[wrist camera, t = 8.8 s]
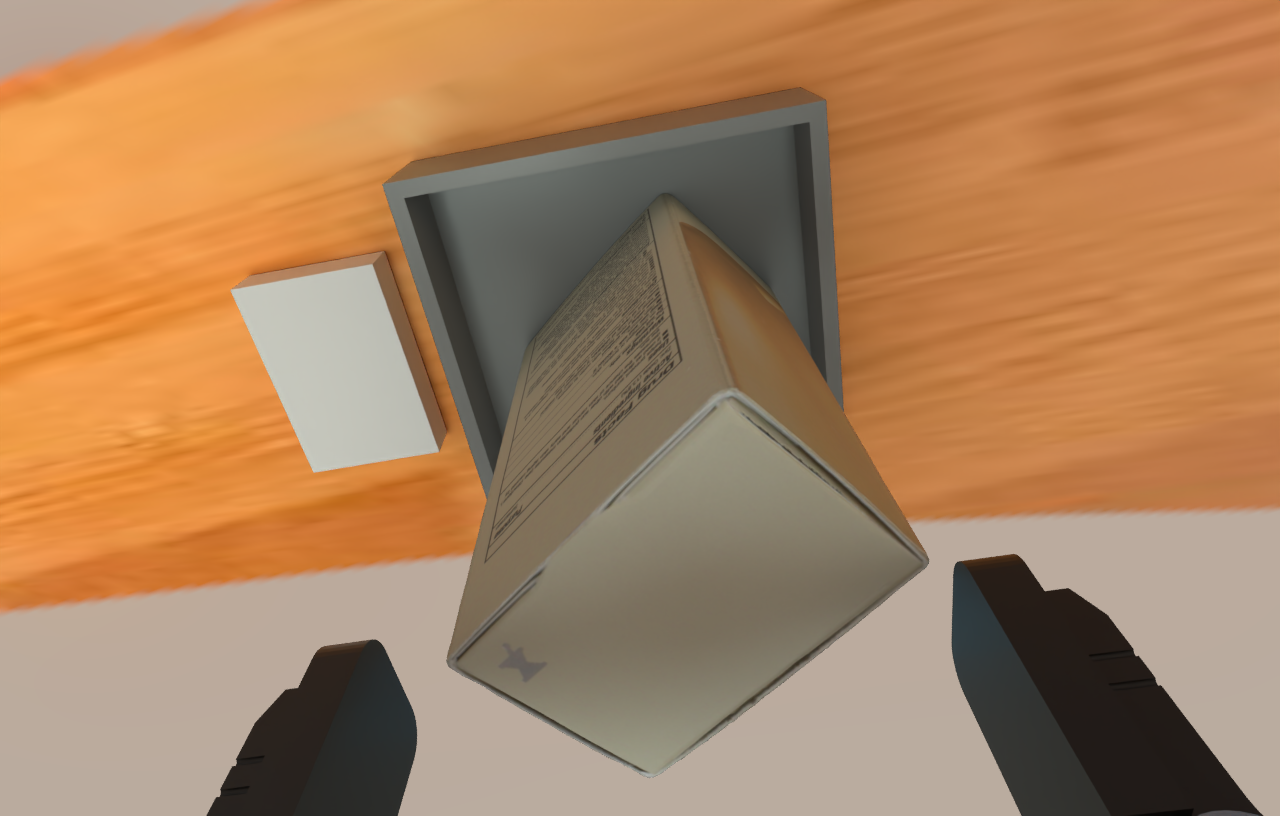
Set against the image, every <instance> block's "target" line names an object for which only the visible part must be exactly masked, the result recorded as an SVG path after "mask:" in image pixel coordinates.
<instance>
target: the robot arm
mask: <svg viewBox="0 0 1280 816" xmlns="http://www.w3.org/2000/svg"><path fill="white" fill-rule="evenodd" d="M952 614H953V615H952V653H953V659H954V664H955V668H956V672H957V676H958V679H959V682H960V685H961V688H962V690H963V692H964V695H965V697H966V699H967V701H968V703H969V705H970V707H971V709H972V711H973V714H974V716H975V718H976V720H977V722H978V724H979V726H980V728H981V731H982V733H983V735H984V737H985V739H986V741H987V743H988V745H989V748H990V749H991V752H992V754H993V756H994V758H995V760H996V762H997V764H998V766H999V769H1000V771H1001V773H1002V775H1003V777H1004V779H1005V782H1006V784H1007V786H1008V788H1009V790H1010V792H1011V794H1012V796H1013V798H1014V801H1015V803H1016V805H1017V807H1018V809H1019V811H1020V813H1021V815H1022V816H1263V815H1262V814H1261V813H1260V812H1259V811H1258V810H1257V809H1256V808H1255V807H1254V806H1253V804H1252V803H1251V802H1250V801H1249V800H1248V798H1246V796H1245V795H1244V793H1243V792H1242V791H1241V790H1240V788H1239V787H1238V785H1237V784H1236V783H1235V782H1234V780H1233V779H1232V778H1231V777H1230V775H1229V774H1228V773H1227V771H1226V770H1225V769H1224V767H1223V766H1222V764H1221V763H1220V762H1219V761H1218V759H1217V758H1216V757H1215V755H1214V754H1213V753H1212V751H1211V750H1210V749H1209V748H1208V746H1207V745H1206V744H1205V742H1204V741H1203V740H1202V738H1201V737H1200V736H1199V735H1198V733H1197V732H1196V730H1195V729H1194V728H1193V726H1192V725H1191V724H1190V723H1189V721H1188V720H1187V719H1186V717H1185V716H1184V715H1183V713H1182V712H1181V711H1180V710H1179V708H1178V707H1177V706H1176V704H1175V703H1174V702H1173V700H1172V699H1171V698H1170V696H1169V695H1168V694H1167V692H1166V691H1165V690H1164V688H1162V686H1161V685H1160V686H1158V685H1157V683H1156V680H1155V677H1154V675H1153V674H1152V673H1151V671H1150V670H1149V669H1148V668H1147V666H1146V665H1145V664H1144V662H1143V661H1142V660H1141V658H1140V657H1139V656H1135V654H1134V651H1133V648H1132V647H1131V645H1130V644H1129V643H1128V641H1127V640H1126V639H1125V637H1124V636H1123V635H1122V634H1121V632H1120V631H1119V630H1118V628H1117V627H1116V626H1115V624H1114V623H1113V622H1112V620H1111V619H1110V618H1109V616H1108V615H1107V614H1105V613H1104V612H1102V611H1101V610H1099V609H1098V608H1097V607H1095V606H1094V605H1092V604H1091V603H1089V602H1088V601H1086V600H1085V599H1084V598H1082V597H1081V596H1079V595H1078V594H1076V593H1075V592H1073V591H1072V590H1070V589H1069V588H1066V589H1059V590H1051V591H1044V590H1043V588H1042V587H1041V585H1040V584H1039V582H1038V581H1037V579H1036V578H1035V577H1034V575H1033V574H1032V572H1031V571H1030V570H1029V568H1028V566H1027V565H1026V563H1025V562H1024V561H1023V560H1022V559H1021V558H1020V557H1019V556H1018V555H1015V554H1011V555H1003V556H996V557H989V558H982V559H975V560H967V561H959V562H957V563H956V564H955V567H954V574H953V610H952ZM416 745H417V727H416V720H415V716H414V712H413V709H412V707H411V705H410V703H409V700H408V698H407V696H406V694H405V692H404V690H403V687H402V685H401V683H400V681H399V679H398V677H397V674H396V672H395V670H394V668H393V666H392V663H391V661H390V659H389V657H388V655H387V653H386V650H385V649H384V647H383V645H382V644H381V643H380V642H379V641H377V640H366V641H359V642H352V643H345V644H337V645H330V646H324V647H321V648H320V649H319V650H318V651H317V652H316V653H315V655H314V657H313V659H312V660H311V663H310V665H309V667H308V669H307V671H306V673H305V675H304V677H303V679H302V681H301V683H300V685H299V687H298V688H295V689H288V690H285V691H284V692H283V693H282V694H281V695H280V697H279V698H278V699H277V700H276V701H275V702H274V703H273V704H272V705H271V706H270V707H269V708H268V710H267V711H266V712H265V713H264V714H263V715H262V716H261V717H260V718H259V719H258V720H257V721H256V723H255V724H254V726H253V728H252V730H251V732H250V734H249V736H248V737H247V739H246V741H245V744H244V745H243V747H242V749H241V751H240V753H239V755H238V757H237V758H236V760H237V764H236V766H233V767H232V768H231V770H230V772H229V774H228V776H227V778H226V779H225V781H224V783H223V785H222V787H221V789H220V790H221V795H220V797H216V799H215V801H214V802H213V804H212V806H211V808H210V810H209V812H208V814H207V816H398V813H399V809H400V806H401V802H402V799H403V795H404V792H405V788H406V785H407V781H408V778H409V774H410V771H411V768H412V764H413V761H414V757H415V752H416Z"/></svg>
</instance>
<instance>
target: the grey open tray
mask: <svg viewBox="0 0 1280 816" xmlns="http://www.w3.org/2000/svg"><path fill="white" fill-rule="evenodd" d="M382 185H383V188H384V191H385V194H386V197H387V200H388V203H389V206H390V209H391V212H392V215H393V218H394V221H395V224H396V227H397V230H398V233H399V236H400V239H401V242H402V245H403V248H404V251H405V254H406V257H407V260H408V263H409V266H410V269H411V272H412V275H413V278H414V281H415V284H416V287H417V290H418V293H419V296H420V299H421V302H422V305H423V308H424V311H425V314H426V317H427V320H428V323H429V326H430V329H431V332H432V335H433V338H434V341H435V344H436V347H437V350H438V353H439V356H440V359H441V362H442V365H443V368H444V371H445V374H446V377H447V380H448V383H449V387H450V390H451V393H452V396H453V399H454V402H455V405H456V408H457V411H458V414H459V417H460V420H461V423H462V426H463V429H464V432H465V435H466V438H467V441H468V444H469V447H470V450H471V453H472V456H473V459H474V462H475V465H476V468H477V471H478V474H479V477H480V480H481V483H482V486H483V489H484V492H485V495H486V498H488V494H489V491H490V487H491V483H492V479H493V475H494V472H495V468H496V464H497V459H498V456H499V452H500V448H501V444H502V440H503V436H504V432H505V428H506V424H507V420H508V416H509V412H510V409H511V405H512V401H513V397H514V393H515V389H516V384H517V380H518V376H519V372H520V369H521V365H522V361H523V356H524V352H525V350H526V348H527V346H528V345H529V344H530V342H531V341H532V340H533V339H534V338H535V336H536V335H537V334H538V333H539V331H540V330H541V329H542V328H543V326H544V325H545V324H546V323H547V321H548V320H549V319H550V318H551V317H552V315H553V314H554V313H555V312H556V311H557V309H558V308H559V307H560V306H561V305H562V303H563V302H564V301H565V300H566V299H567V297H568V296H569V295H570V294H571V293H572V292H573V290H574V289H575V288H576V287H577V286H578V285H579V283H580V282H581V281H582V280H583V279H584V278H585V277H586V275H587V274H588V273H589V272H590V271H591V270H592V268H593V267H594V266H595V265H596V264H597V263H598V261H599V260H600V259H601V258H602V257H603V256H604V255H605V254H606V252H607V251H608V250H609V249H610V248H611V247H612V246H613V245H614V244H615V242H616V241H617V240H618V239H619V238H620V237H621V236H622V235H623V234H624V233H625V232H626V230H627V229H628V228H629V227H630V226H631V225H632V224H633V223H634V222H635V220H636V219H637V218H638V217H639V216H640V215H641V214H642V213H643V212H644V211H645V210H646V209H647V208H648V207H649V206H650V205H651V204H652V203H653V201H654V200H655V199H656V198H657V197H659V196H660V195H661V194H669V195H672V196H674V197H675V198H676V199H677V200H678V201H679V202H680V203H681V204H683V205H684V206H685V207H686V208H687V209H688V210H689V211H690V212H691V213H692V214H693V215H695V216H696V217H697V218H698V219H699V220H700V221H701V222H702V223H703V224H705V225H706V226H707V227H708V228H709V229H710V230H711V231H712V232H713V233H714V234H715V235H716V236H717V237H718V238H719V239H721V240H722V241H723V242H724V243H725V244H726V245H727V246H728V247H729V248H730V249H731V250H732V251H733V252H734V253H735V254H736V255H737V256H738V257H739V258H740V259H741V260H742V261H744V262H745V263H746V264H747V265H748V266H749V267H750V268H751V269H752V270H753V271H754V272H755V273H756V274H757V275H758V276H759V277H760V278H761V279H762V280H763V281H764V282H765V283H766V284H767V285H768V286H769V287H770V288H771V290H772V291H773V293H774V294H775V296H776V298H777V300H778V301H779V303H780V305H781V306H782V308H783V310H784V312H785V314H786V315H787V317H788V319H789V321H790V322H791V324H792V326H793V327H794V329H795V331H796V332H797V334H798V336H799V337H800V339H801V341H802V342H803V344H804V346H805V348H806V349H807V351H808V353H809V354H810V356H811V357H812V359H813V361H814V362H815V364H816V366H817V368H818V369H819V371H820V373H821V374H822V376H823V378H824V380H825V382H826V383H827V385H828V387H829V388H830V390H831V392H832V393H833V395H834V397H835V398H836V400H837V402H838V404H839V405H840V407H841V409H842V410H843V412H844V409H843V391H842V373H841V355H840V338H839V320H838V302H837V284H836V267H835V249H834V231H833V213H832V196H831V178H830V160H829V142H828V125H827V107H826V100H825V99H823V98H821V97H819V96H817V95H815V94H813V93H811V92H809V91H807V90H805V89H803V88H801V87H799V88H794V89H789V90H784V91H778V92H773V93H768V94H763V95H757V96H752V97H747V98H742V99H737V100H731V101H726V102H721V103H716V104H710V105H705V106H700V107H695V108H689V109H684V110H679V111H674V112H669V113H663V114H658V115H653V116H648V117H642V118H637V119H632V120H627V121H621V122H616V123H611V124H606V125H601V126H595V127H590V128H585V129H580V130H574V131H569V132H564V133H559V134H553V135H548V136H543V137H538V138H532V139H527V140H522V141H517V142H512V143H506V144H501V145H496V146H491V147H485V148H480V149H475V150H470V151H464V152H459V153H454V154H449V155H444V156H438V157H433V158H428V159H423V160H417V161H412V162H410V163H409V164H408V165H406V166H405V167H404V168H403V169H401V170H400V171H399V172H397V173H396V174H395V175H394V176H392V177H391V178H390V179H388V180H387V181H386V182H385V183H383V184H382ZM231 292H232V295H233V297H234V299H235V301H236V303H237V306H238V308H239V310H240V312H241V314H242V317H243V319H244V321H245V323H246V325H247V328H248V330H249V332H250V334H251V336H252V338H253V341H254V343H255V345H256V347H257V349H258V352H259V354H260V356H261V358H262V360H263V363H264V365H265V367H266V369H267V371H268V374H269V376H270V378H271V380H272V382H273V385H274V387H275V389H276V391H277V393H278V395H279V398H280V400H281V402H282V404H283V406H284V409H285V411H286V413H287V415H288V417H289V420H290V422H291V424H292V426H293V428H294V431H295V433H296V435H297V437H298V439H299V442H300V444H301V446H302V448H303V450H304V452H305V455H306V457H307V459H308V461H309V463H310V466H311V468H312V470H313V472H320V471H326V470H332V469H339V468H345V467H351V466H357V465H363V464H369V463H375V462H381V461H387V460H393V459H399V458H405V457H411V456H417V455H423V454H429V453H435V452H439V451H440V449H441V446H442V444H443V441H444V439H445V436H446V434H447V430H446V427H445V424H444V421H443V419H442V416H441V413H440V410H439V407H438V404H437V401H436V398H435V395H434V393H433V390H432V387H431V384H430V381H429V378H428V375H427V372H426V369H425V366H424V364H423V361H422V358H421V355H420V352H419V349H418V346H417V343H416V340H415V338H414V335H413V332H412V329H411V326H410V323H409V320H408V317H407V314H406V312H405V309H404V306H403V303H402V300H401V297H400V294H399V291H398V288H397V285H396V283H395V280H394V277H393V274H392V271H391V268H390V265H389V262H388V259H387V257H386V254H385V251H382V252H376V253H371V254H365V255H360V256H354V257H349V258H344V259H338V260H333V261H327V262H322V263H316V264H311V265H305V266H300V267H295V268H289V269H284V270H278V271H273V272H267V273H262V274H256V275H251V276H248V277H247V278H246V279H244V280H243V281H242V282H240V283H239V284H238V285H236V286H235V287H234V288H232V289H231Z"/></svg>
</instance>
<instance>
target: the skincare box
mask: <svg viewBox="0 0 1280 816" xmlns="http://www.w3.org/2000/svg"><path fill="white" fill-rule="evenodd" d="M928 564H929V558H928V556H927V554H926V552H925V550H924V548H923V547H922V545H921V544H920V542H919V540H918V539H917V537H916V535H915V533H914V532H913V530H912V528H911V527H910V525H909V523H908V521H907V520H906V518H905V516H904V515H903V513H902V511H901V510H900V508H899V506H898V505H897V503H896V501H895V500H894V498H893V496H892V495H891V493H890V491H889V490H888V488H887V486H886V485H885V483H884V481H883V480H882V478H881V476H880V474H879V472H878V471H877V469H876V467H875V465H874V464H873V462H872V460H871V458H870V457H869V455H868V453H867V452H866V450H865V448H864V447H863V445H862V443H861V441H860V440H859V438H858V436H857V434H856V433H855V431H854V429H853V428H852V426H851V424H850V423H849V421H848V419H847V417H846V416H845V414H844V412H843V410H842V409H841V407H840V405H839V404H838V402H837V400H836V398H835V397H834V395H833V393H832V392H831V390H830V388H829V387H828V385H827V383H826V382H825V380H824V378H823V376H822V374H821V373H820V371H819V369H818V368H817V366H816V364H815V362H814V361H813V359H812V357H811V356H810V354H809V353H808V351H807V349H806V348H805V346H804V344H803V342H802V341H801V339H800V337H799V336H798V334H797V332H796V331H795V329H794V327H793V326H792V324H791V322H790V321H789V319H788V317H787V315H786V314H785V312H784V310H783V308H782V306H781V305H780V303H779V301H778V300H777V298H776V296H775V294H774V293H773V291H772V290H771V288H770V287H769V286H768V285H767V284H766V283H765V282H764V281H763V280H762V279H761V278H760V277H759V276H758V275H757V274H756V273H755V272H754V271H753V270H752V269H751V268H750V267H749V266H748V265H747V264H746V263H745V262H744V261H742V260H741V259H740V258H739V257H738V256H737V255H736V254H735V253H734V252H733V251H732V250H731V249H730V248H729V247H728V246H727V245H726V244H725V243H724V242H723V241H722V240H721V239H719V238H718V237H717V236H716V235H715V234H714V233H713V232H712V231H711V230H710V229H709V228H708V227H707V226H706V225H705V224H703V223H702V222H701V221H700V220H699V219H698V218H697V217H696V216H695V215H693V214H692V213H691V212H690V211H689V210H688V209H687V208H686V207H685V206H684V205H683V204H681V203H680V202H679V201H678V200H677V199H676V198H675V197H674V196H672V195H669V194H661V195H660V196H659V197H657V198H656V199H655V200H654V201H653V203H652V204H651V205H650V206H649V207H648V208H647V209H646V210H645V211H644V212H643V213H642V214H641V215H640V216H639V217H638V218H637V219H636V220H635V222H634V223H633V224H632V225H631V226H630V227H629V228H628V229H627V230H626V232H625V233H624V234H623V235H622V236H621V237H620V238H619V239H618V240H617V241H616V242H615V244H614V245H613V246H612V247H611V248H610V249H609V250H608V251H607V252H606V254H605V255H604V256H603V257H602V258H601V259H600V260H599V261H598V263H597V264H596V265H595V266H594V267H593V268H592V270H591V271H590V272H589V273H588V274H587V275H586V277H585V278H584V279H583V280H582V281H581V282H580V283H579V285H578V286H577V287H576V288H575V289H574V290H573V292H572V293H571V294H570V295H569V296H568V297H567V299H566V300H565V301H564V302H563V303H562V305H561V306H560V307H559V308H558V309H557V311H556V312H555V313H554V314H553V315H552V317H551V318H550V319H549V320H548V321H547V323H546V324H545V325H544V326H543V328H542V329H541V330H540V331H539V333H538V334H537V335H536V336H535V338H534V339H533V340H532V341H531V342H530V344H529V345H528V346H527V348H526V350H525V352H524V356H523V361H522V365H521V369H520V372H519V376H518V380H517V384H516V389H515V393H514V397H513V401H512V405H511V409H510V412H509V416H508V420H507V424H506V428H505V432H504V436H503V440H502V444H501V448H500V452H499V456H498V459H497V464H496V468H495V472H494V475H493V479H492V483H491V487H490V491H489V494H488V498H487V502H486V506H485V510H484V513H483V517H482V521H481V525H480V529H479V534H478V538H477V541H476V545H475V549H474V553H473V556H472V560H471V565H470V570H469V573H468V578H467V581H466V585H465V589H464V593H463V596H462V600H461V604H460V608H459V612H458V616H457V620H456V624H455V629H454V633H453V637H452V641H451V644H450V647H449V651H448V655H447V660H446V661H447V664H448V666H449V667H450V668H451V669H453V670H455V671H456V672H458V673H459V674H461V675H462V676H464V677H466V678H468V679H470V680H472V681H474V682H476V683H478V684H480V685H482V686H484V687H486V688H487V689H488V690H490V691H491V692H493V693H494V694H496V695H498V696H499V697H501V698H503V699H505V700H507V701H509V702H510V703H512V704H514V705H515V706H517V707H519V708H521V709H522V710H524V711H526V712H528V713H529V714H531V715H533V716H535V717H537V718H538V719H540V720H542V721H544V722H545V723H547V724H549V725H551V726H552V727H554V728H556V729H557V730H559V731H561V732H562V733H564V734H566V735H568V736H570V737H572V738H573V739H575V740H577V741H579V742H581V743H582V744H584V745H586V746H588V747H589V748H591V749H593V750H595V751H597V752H599V753H601V754H602V755H604V756H606V757H608V758H610V759H612V760H614V761H617V762H619V763H621V764H623V765H624V766H627V767H629V768H631V769H633V770H634V771H636V772H638V773H639V774H641V775H643V776H645V777H648V778H651V777H655V776H658V775H659V774H661V773H663V772H664V771H665V770H666V769H668V768H669V767H670V766H672V765H673V764H675V763H676V762H677V761H679V760H681V759H683V758H684V757H685V756H686V755H688V754H689V753H691V752H692V751H693V750H695V749H696V748H697V747H699V746H700V745H701V744H703V743H705V742H706V741H708V740H709V739H710V738H711V737H712V736H714V735H715V734H717V733H718V732H720V731H721V730H722V729H724V728H725V727H726V726H727V725H728V724H730V723H732V722H733V721H735V720H736V719H737V718H738V717H739V716H740V715H742V714H743V713H744V712H746V711H747V710H749V709H750V708H751V707H753V706H754V705H755V704H756V703H758V702H759V701H760V700H761V699H762V698H764V697H765V696H766V695H768V694H769V693H770V692H771V691H773V690H774V689H776V688H777V687H778V686H780V685H781V684H782V683H784V682H785V681H786V680H787V679H788V678H789V677H791V676H792V675H793V674H794V673H796V672H797V671H798V670H800V669H801V668H802V667H804V666H805V665H806V664H807V663H808V662H810V661H811V660H812V659H814V658H815V657H816V656H817V655H818V654H820V653H821V652H823V651H824V650H825V649H826V648H828V647H829V646H830V645H831V644H832V643H833V642H835V641H836V640H837V639H839V638H840V637H841V636H843V635H844V634H845V633H846V632H848V631H849V630H850V629H851V628H853V627H854V626H855V625H856V624H858V623H859V622H860V621H861V620H862V619H863V618H865V617H866V616H867V615H868V614H869V613H870V612H871V611H873V610H874V609H876V608H877V607H878V606H879V605H881V604H882V603H883V602H884V601H885V600H887V599H888V598H889V597H890V596H891V595H892V594H893V593H895V592H896V591H897V590H898V589H900V588H901V587H902V586H903V585H904V584H906V583H907V582H908V581H910V580H911V579H912V578H913V577H915V576H916V575H917V574H918V573H920V572H921V571H922V570H923V569H925V568H926V567H927V565H928Z"/></svg>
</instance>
